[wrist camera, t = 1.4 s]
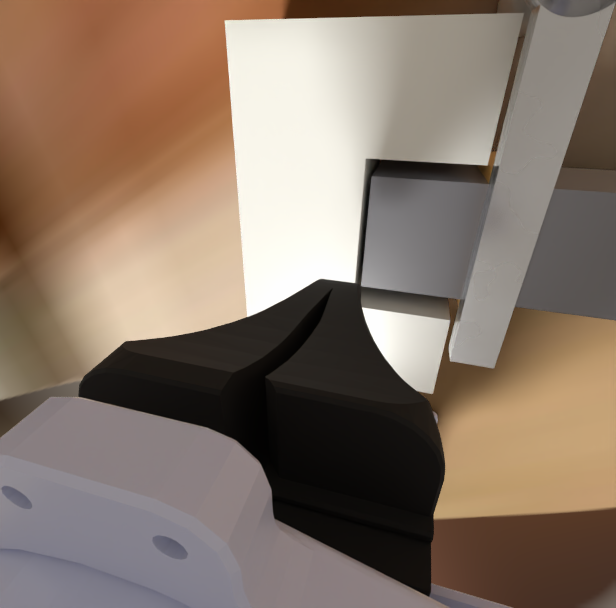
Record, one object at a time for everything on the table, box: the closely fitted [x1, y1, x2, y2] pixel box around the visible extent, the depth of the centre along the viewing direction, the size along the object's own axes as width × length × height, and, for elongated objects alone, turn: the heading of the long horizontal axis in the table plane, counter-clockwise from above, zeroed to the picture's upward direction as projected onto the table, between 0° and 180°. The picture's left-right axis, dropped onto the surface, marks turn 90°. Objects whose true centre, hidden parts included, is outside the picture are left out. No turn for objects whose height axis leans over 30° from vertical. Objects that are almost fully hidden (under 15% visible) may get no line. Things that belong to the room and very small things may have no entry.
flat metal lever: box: [449, 0, 616, 369], centre depth 12 cm, size 13×3×1 cm, turn 179°
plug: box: [361, 151, 616, 320], centre depth 15 cm, size 6×15×5 cm, turn 89°
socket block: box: [225, 0, 531, 394], centre depth 16 cm, size 16×11×6 cm
